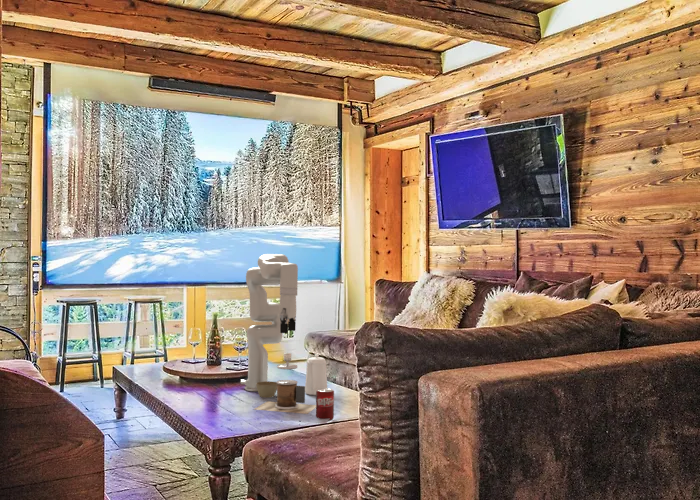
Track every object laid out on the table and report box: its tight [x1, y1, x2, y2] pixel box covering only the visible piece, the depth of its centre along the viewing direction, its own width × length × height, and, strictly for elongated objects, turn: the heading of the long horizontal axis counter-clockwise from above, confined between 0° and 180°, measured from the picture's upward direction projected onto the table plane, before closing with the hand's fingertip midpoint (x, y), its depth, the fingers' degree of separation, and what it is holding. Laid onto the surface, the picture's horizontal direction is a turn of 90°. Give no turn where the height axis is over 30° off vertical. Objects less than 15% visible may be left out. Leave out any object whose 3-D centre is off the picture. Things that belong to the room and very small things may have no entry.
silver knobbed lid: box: [276, 352, 298, 370], centre depth 284 cm, size 9×9×6 cm
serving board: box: [253, 400, 316, 415], centre depth 284 cm, size 24×16×1 cm, turn 76°
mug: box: [275, 379, 306, 410], centre depth 283 cm, size 13×10×11 cm
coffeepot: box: [304, 353, 328, 396], centre depth 318 cm, size 11×25×19 cm, turn 168°
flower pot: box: [256, 380, 277, 399], centre depth 305 cm, size 10×10×7 cm
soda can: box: [315, 387, 335, 422], centre depth 269 cm, size 7×7×12 cm
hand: (287, 331), depth 284 cm, fingers open, 9 cm apart
